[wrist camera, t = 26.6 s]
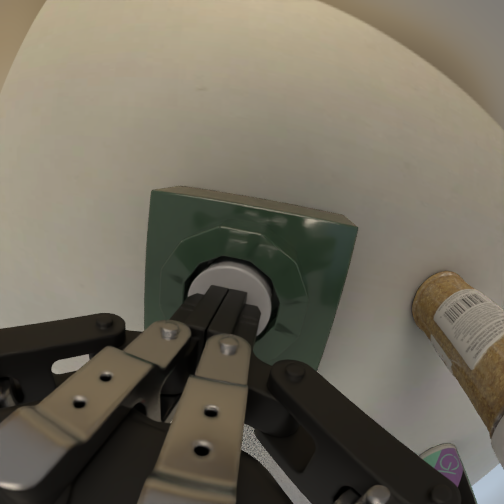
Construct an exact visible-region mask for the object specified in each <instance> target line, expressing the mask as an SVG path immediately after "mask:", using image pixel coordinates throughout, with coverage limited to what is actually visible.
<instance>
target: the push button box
mask: <svg viewBox="0 0 504 504" xmlns="http://www.w3.org/2000/svg"><path fill="white" fill-rule="evenodd" d="M357 232H358V227H357V226H356V225H355V224H354V223H353V222H351V221H350V220H349V219H348V218H347V217H346V216H344V215H342V214H337V213H332V212H328V211H323V210H318V209H313V208H308V207H303V206H298V205H293V204H288V203H283V202H277V201H272V200H266V199H261V198H255V197H249V196H244V195H238V194H232V193H226V192H220V191H213V190H207V189H200V188H194V187H187V186H175V187H168V188H161V189H155V190H152V191H151V199H150V209H149V220H148V232H147V247H146V266H145V297H144V330H145V329H147V328H148V327H149V326H150V325H151V324H152V323H154V322H156V321H160V320H169V319H170V318H171V317H172V316H173V314H174V313H175V312H176V311H177V310H178V308H180V306H181V305H182V304H183V303H184V301H185V300H186V299H187V297H188V292H189V288H190V286H191V284H192V282H193V281H194V279H195V278H196V277H197V276H198V275H199V274H200V273H201V272H202V271H203V270H204V268H205V267H206V266H207V265H208V264H209V263H210V262H211V261H213V260H214V259H215V258H218V257H221V256H227V257H232V258H237V259H242V260H247V261H250V262H251V263H252V264H254V265H255V266H256V267H257V268H258V269H260V270H261V271H262V272H263V273H264V274H266V275H267V276H268V277H269V278H270V279H271V281H272V283H273V286H274V300H273V305H272V311H271V316H270V319H269V322H268V324H267V326H266V327H265V329H264V330H263V331H262V332H261V333H260V334H259V335H258V336H256V341H255V345H254V349H253V352H254V354H255V355H256V357H257V358H259V359H260V360H261V361H263V362H265V363H267V364H269V365H271V366H272V365H273V364H274V363H276V362H278V361H280V360H287V359H290V360H297V361H301V362H304V363H306V364H308V365H309V366H311V367H312V368H313V369H314V370H315V371H317V369H318V366H319V363H320V361H321V358H322V355H323V352H324V349H325V346H326V343H327V340H328V337H329V334H330V331H331V327H332V324H333V321H334V318H335V314H336V311H337V308H338V304H339V301H340V298H341V294H342V291H343V287H344V283H345V280H346V276H347V272H348V269H349V265H350V261H351V257H352V253H353V249H354V245H355V241H356V237H357Z"/></svg>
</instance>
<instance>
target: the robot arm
mask: <svg viewBox="0 0 504 504" xmlns="http://www.w3.org/2000/svg"><path fill="white" fill-rule="evenodd" d="M246 300H247V292H244V291H239V290H235V289H229V288H225V287H220V286H216V285H211V286H210V288H209V289H208V290H207V292H206V293H205V294H199V293H196V294H193V295H191V296H189V297H188V298H187V299H186V300H185V301H184V303H183V304H182V305H181V306H180V308H178V310H177V311H176V312H175V313H174V314H173V316H172V317H171V318H170V319H169V320H160V321H156V322H154V323H152V324H151V325H150V326H149V327H148V328H147V329H145V330H144V331H143V332H138V331H129V330H125V321H124V320H123V319H122V318H121V317H119V316H117V315H115V314H110V313H99V314H93V315H87V316H81V317H75V318H69V319H63V320H57V321H50V322H44V323H37V324H31V325H24V326H17V327H10V328H3V329H0V504H293V502H292V501H291V500H290V499H289V497H288V496H287V495H286V494H285V492H284V491H283V490H282V488H281V487H280V486H279V484H278V483H277V482H276V480H275V479H274V478H273V476H272V475H271V474H270V472H269V471H268V470H267V469H266V468H265V467H264V466H263V465H262V464H261V463H260V462H259V461H257V460H256V459H255V458H254V457H252V456H251V455H249V454H248V453H246V452H244V451H242V450H241V445H242V437H243V429H244V423H245V424H247V425H249V426H251V427H253V428H255V429H254V432H255V436H256V437H257V439H258V440H259V441H260V443H261V444H262V445H263V447H264V448H265V449H266V450H267V452H268V453H269V454H270V455H271V457H272V458H273V459H274V460H275V462H276V463H277V464H278V465H279V466H280V468H281V469H282V470H283V471H284V472H285V474H286V475H287V476H288V477H289V478H290V479H291V481H292V482H293V483H294V484H295V485H296V486H297V488H298V489H299V490H300V491H301V492H302V493H303V494H304V495H305V497H306V498H307V499H308V500H309V501H310V502H311V503H312V504H461V494H460V491H459V489H458V487H457V486H456V485H455V484H454V483H453V482H452V481H451V480H449V479H448V478H447V477H445V476H444V475H443V474H441V473H440V472H439V471H437V470H436V469H435V468H433V467H432V466H431V465H429V464H428V463H427V462H425V461H424V460H423V459H422V458H420V457H419V456H418V455H416V454H415V453H414V452H413V451H411V450H410V449H409V448H407V447H406V446H405V445H404V444H402V443H401V442H400V441H399V440H397V439H396V438H395V437H394V436H392V435H391V434H390V433H389V432H387V431H386V430H385V429H384V428H382V427H381V426H380V425H379V424H378V423H376V422H375V421H374V420H373V419H372V418H370V417H369V416H368V415H367V414H365V413H364V412H363V411H362V410H361V409H360V408H358V407H357V406H356V405H355V404H354V403H352V402H351V401H350V400H349V399H348V398H347V397H345V396H344V395H343V394H342V393H341V392H340V391H338V390H337V389H336V388H335V387H334V386H333V385H331V384H330V383H329V382H328V381H327V380H326V379H325V378H323V377H322V376H321V375H320V374H319V373H318V372H317V371H315V370H314V369H313V368H312V367H311V366H309V365H308V364H306V363H304V362H301V361H297V360H290V359H287V360H280V361H278V362H276V363H274V364H273V365H272V366H271V365H269V364H267V363H265V362H263V361H261V360H260V359H259V358H257V357H256V355H255V354H254V352H253V349H254V345H255V341H256V336H257V331H258V326H259V321H260V316H261V312H260V310H259V308H258V306H255V305H250V304H246ZM86 354H89V359H90V360H89V361H88V362H87V363H86V364H85V365H83V366H82V367H81V368H80V369H79V370H77V371H73V372H68V373H64V374H54V373H53V372H52V371H51V367H52V365H53V363H54V362H56V361H57V360H61V359H66V358H71V357H76V356H81V355H86ZM172 419H173V420H172ZM171 421H172V422H171Z"/></svg>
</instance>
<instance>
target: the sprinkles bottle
mask: <svg viewBox="0 0 504 504" xmlns="http://www.w3.org/2000/svg"><path fill="white" fill-rule="evenodd" d="M412 313H413V317H414V320H415V322H416V325H417V326H418V327H419V328H420V329H421V330H422V331H424V333H425V334H426V335H427V337H428V338H429V339H430V341H431V342H432V345H433V347H434V348H435V350H436V352H437V353H438V354H439V356H440V357H441V359H442V360H443V362H444V363H445V365H446V366H447V368H448V369H449V371H450V372H451V373H452V375H453V376H454V377H456V379H457V380H458V382H459V384H460V385H461V387H462V388H463V390H464V391H465V393H466V394H467V396H468V397H469V399H470V401H471V403H472V404H473V406H474V408H475V409H476V411H477V413H478V414H479V415H480V417H481V419H482V421H483V422H484V424H485V425H486V427H487V429H488V431H489V433H490V439H491V445H492V448H493V450H494V452H495V454H496V456H497V458H498V460H499V462H500V464H501V465H502V467H503V469H504V310H503V309H502V308H501V307H499V306H498V305H497V304H495V303H494V302H493V301H492V300H490V299H489V298H488V297H486V296H485V295H484V294H482V293H481V292H479V291H477V290H475V289H474V288H472V287H471V286H470V285H468V284H467V283H466V282H465V281H464V280H463V279H462V278H461V277H460V276H459V275H458V274H456V273H454V272H449V271H443V272H439V273H436V274H435V275H432V276H431V277H429V278H428V279H427V280H426V281H425V282H424V283H423V284H422V285H421V286H420V288H419V289H418V291H417V293H416V296H415V298H414V301H413V304H412Z"/></svg>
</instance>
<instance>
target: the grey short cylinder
mask: <svg viewBox="0 0 504 504" xmlns="http://www.w3.org/2000/svg"><path fill="white" fill-rule="evenodd" d="M211 285H216V286H220V287H225V288H229V289H235V290H239V291H244V292H247V300H246V304H250V305H255V306H258V308H259V310H260V312H261V316H260V321H259V326H258V331H257V336H258V335H259V334H260V333H261V332H262V331H263V330H264V329H265V327H266V326H267V324H268V322H269V319H270V316H271V311H272V305H273V300H274V286H273V283H272V281H271V279H270V278H269V277H268V276H267V275H266V274H264V273H263V272H262V271H261V270H260V269H258V268H257V267H256V266H255V265H254V264H252V263H251V262H250V261H247V260H242V259H237V258H232V257H227V256H221V257H218V258H215V259H214V260H213V261H211V262H210V263H209V264H208V265H207V266H206V267H205V268H204V270H203V271H202V272H201V273H200V274H199V275H198V276H197V277H196V278H195V279H194V281H193V282H192V284H191V286H190V288H189V292H188V297H189V296H191V295H193V294H196V293H199V294H205V293H206V292H207V290H208V289H209V288H210V286H211ZM188 297H187V298H188Z"/></svg>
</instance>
